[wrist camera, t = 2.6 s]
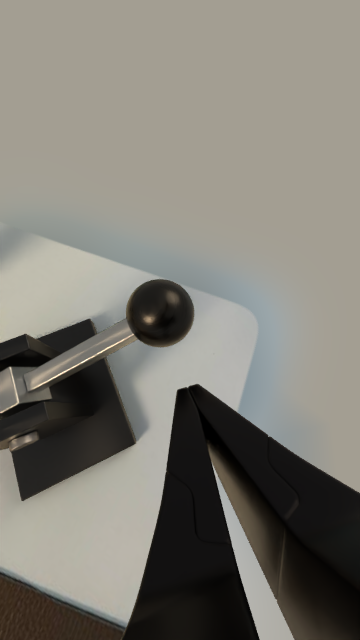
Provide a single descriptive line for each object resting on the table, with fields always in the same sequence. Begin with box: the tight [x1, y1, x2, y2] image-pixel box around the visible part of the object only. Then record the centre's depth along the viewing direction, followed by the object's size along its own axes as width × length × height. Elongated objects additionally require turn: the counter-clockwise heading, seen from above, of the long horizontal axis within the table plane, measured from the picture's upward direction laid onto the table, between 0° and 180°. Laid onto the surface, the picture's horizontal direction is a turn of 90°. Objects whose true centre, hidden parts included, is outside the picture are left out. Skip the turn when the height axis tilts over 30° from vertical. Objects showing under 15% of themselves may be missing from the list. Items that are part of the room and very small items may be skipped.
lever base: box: [0, 319, 136, 501], centre depth 17 cm, size 9×12×10 cm
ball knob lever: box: [0, 279, 194, 420], centre depth 13 cm, size 13×4×4 cm, turn 115°
